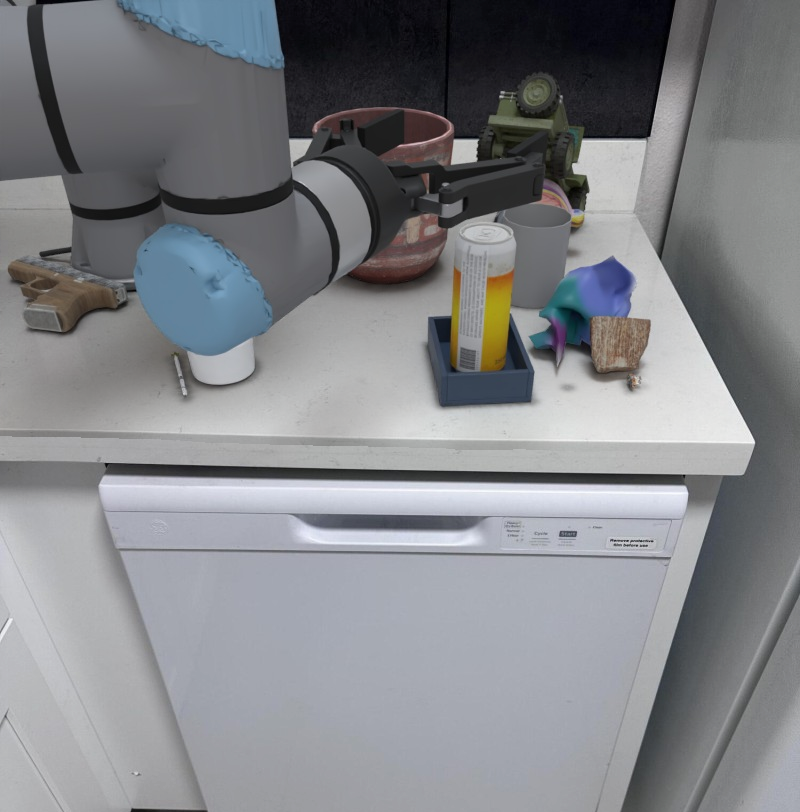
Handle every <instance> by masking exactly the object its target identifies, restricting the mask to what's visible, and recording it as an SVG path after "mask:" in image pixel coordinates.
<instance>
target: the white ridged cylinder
mask: <svg viewBox="0 0 800 812" xmlns="http://www.w3.org/2000/svg"><path fill="white" fill-rule="evenodd" d="M186 353H187V357H188V361H189V365H190V369H191V372H192V375H193V377H194V379H196V380H197V381H199V382H200V383H203V384H208V385H214V386H215V385H216V386H217V385H219V386H220V385H230V384H234V383H238V382H241V381H243V380H245V379H246V378H248V377H250V375H252V374H253V373H254V372H255V369H256V360H255V348H254V338H253V337H252V338H250V339H248V340H247V341H245V342H243V343H241V344H240V345H238V346H236V347H234V348H233V349H231V350H229V351H227V352H225V353H223V354H220V355H215V356H203V355H197V354H195V353H193V352H190V351H187V350H186Z"/></svg>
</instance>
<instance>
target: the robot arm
mask: <svg viewBox="0 0 800 812" xmlns="http://www.w3.org/2000/svg"><path fill="white" fill-rule="evenodd" d="M279 30H280V29H279V24H278V16H277V9H276V1H275V0H85V1H73V2H62V3H60V2H59V3H52V4H51V3H47V4H46V3H43V4H39V3H38V4H37V0H0V182H6V181H14V180H25V179H36V178H49V177H57V176H58V177H59V176H61V179H62V183H63V187H64V190H65V195H66V197H67V201H68V205H69V208H70V213H71V216H72V226H71V227H72V229H71V246H67V247H59V248H54V249H47V250H41V251H39V253H38V255H39V257H40V258H46V257H53V256H57V255H64V254H65V255H66V254H70V262H71V263H70V265H71V268H72V269H76V270H79V271H82V272H86V273H89V274H93V275H96V276H99V277H103V278H106V279H110V280H113V281H116V282H120V283H123V284H125V287H126V291H135V290H136V293H137V296H138V298H139V301H140V303H141V306H142V307H143V309H144V311H145V313H146V314H147V316H148V318H149V319H150V321H151V322H152V323H153V325H154V326H155V327H156V328H157V329H158V330H159V332H161V334H162V335H163V336H164V337H166V339H167V340H169V341H170V342H171V343H173V344H174V345H175V346H177V347H179V348H180V349H182V350H184V351H186V352H187V351H190V352H193V353H195V354H197V355H203V356H215V355H220V354H223V353H225V352H227V351H229V350H231V349H233V348H234V347H236V346H238V345H240V344H241V343H243V342H245V341H247V340H248V339H250V338H252V337H256V338H257V337H259V336H262V335H263V334H265V333H267V332H268V330H270V328H271V327H273V325H275V324H276V323H278V322H279V321H280V320H282V319H283V318H284V317H286V316H287V315H288V314H290V313H291V312H292V311H293V310H295V309H296V308H298V306H301V305H302V304H303V303H304V302H306V301H307V300H308V299H310V298H311V297H313V296H316V295H318V294H319V293H320V292H322V291H323V290H325V289H326V288H327V287H329V286H330V285H332V284H333V283H334V282H336V281H337V280H339V279H340V278H342V277H343V276H345V275H347V274H348V272H350V271H351V270H353V269H354V268H355V267H357V266H359V265H361V264H363V263H364V262H366V261H367V260H369V259H370V258H372V257H373V256H375V255H376V254H378V253H379V252H381V251H382V250H384V249H385V248H386V247H388V246H389V245H390V244H391V242H392V241H393V240H394V238H395V237H396V235H397V233H398V232H399V230H400V228H401V226H402V225H403V223H404V221H405V220H408V219H410V218H414V217H418V216H420V215H423V214H430V213H432V214H435V215H438V227H440V228H445V229H448V230H449V229H452V228H454V227H456V226H458V225H460V224H461V223H463V222H466V221H468V220H472V219H475V218H479V217H482V216H483V217H484V216H487V215H491V214H495V213H498V212H499V211H503V210H507V209H510V208H514V207H518V206H522V205H526V204H530V203H534V202H537V201H540V200H542V193H543V184H544V176H545V167H546V166H545V162H546V153H547V144H548V135H549V132H546V131H539V132H537V133H536V134H534V135H533V136H531V137H530V138H528V139H527V140H525V141H523V142H522V143H520V144H519V145H517V146H516V147H514V148H513V149H511V150H510V151H508V152H507V157H506V158H503V159H501V158H500V159H495V160H487V161H478V162H477V161H472V162H470V161H469V162H463V163H453V164H451V165H445V166H442V165H441V164H440V163H438V162H437V161H436V160H427V161H419V162H410V163H406V162H404V161H403V160H396V161H389V162H386V161H382V160H381V159H380V158H378V156H380V155H382V154H384V153H386V152H388V151H390V150H392V149H393V148H395V147H397V146H399V145H401V144H403V143H404V110H403V109H395V110H393V111H391V112H389V113H387V114H384V115H382V116H380V117H378V118H376V119H374V120H371V121H369V122H367V123H365V124H363V125H361V126H359V127H357V129H355V130H354V120H353V119H350V118H344V119H340V121H339V122H340V134H332V128H329V127H321V128H319V129H318V130H317V132H316V134H315V136H314V138H313V137H312V139H311V141H310V143H309V145H308V148H307V150H306V152H305V154H304V155H302V156H301V157H299V158H298V159H296V160H294V161H293V162H292V158H291V145H290V133H289V120H288V119H289V118H288V108H287V107H288V106H287V95H286V83H285V71H284V69H285V56H284V54H283V51H282V46H281V37H280V31H279ZM426 173H429V194H428V193H427V189H426V186H425V183H424V180H423V177H422V175H421V174H426Z"/></svg>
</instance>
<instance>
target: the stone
mask: <svg viewBox="0 0 800 812" xmlns="http://www.w3.org/2000/svg"><path fill="white" fill-rule="evenodd" d="M589 327H590V341H591V346H590V351H591V358H592V359H591V360H592V363H593V365H594V367H595V370H596V371H597V372H598V373H600V374H605V373H606V374H607V373H610V372H613V371H614V372H615V371H618V372H630V371H635V370H638V369H639V366H640V361H641V359H642V356H643V355H644V353H645V352H646V349H647V347H648V345H649V339H650V333H651V327H652V322H651V320H650V318H649V319H648V318H638V317H637V318H636V317H610V316H595V317H590V320H589Z"/></svg>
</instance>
